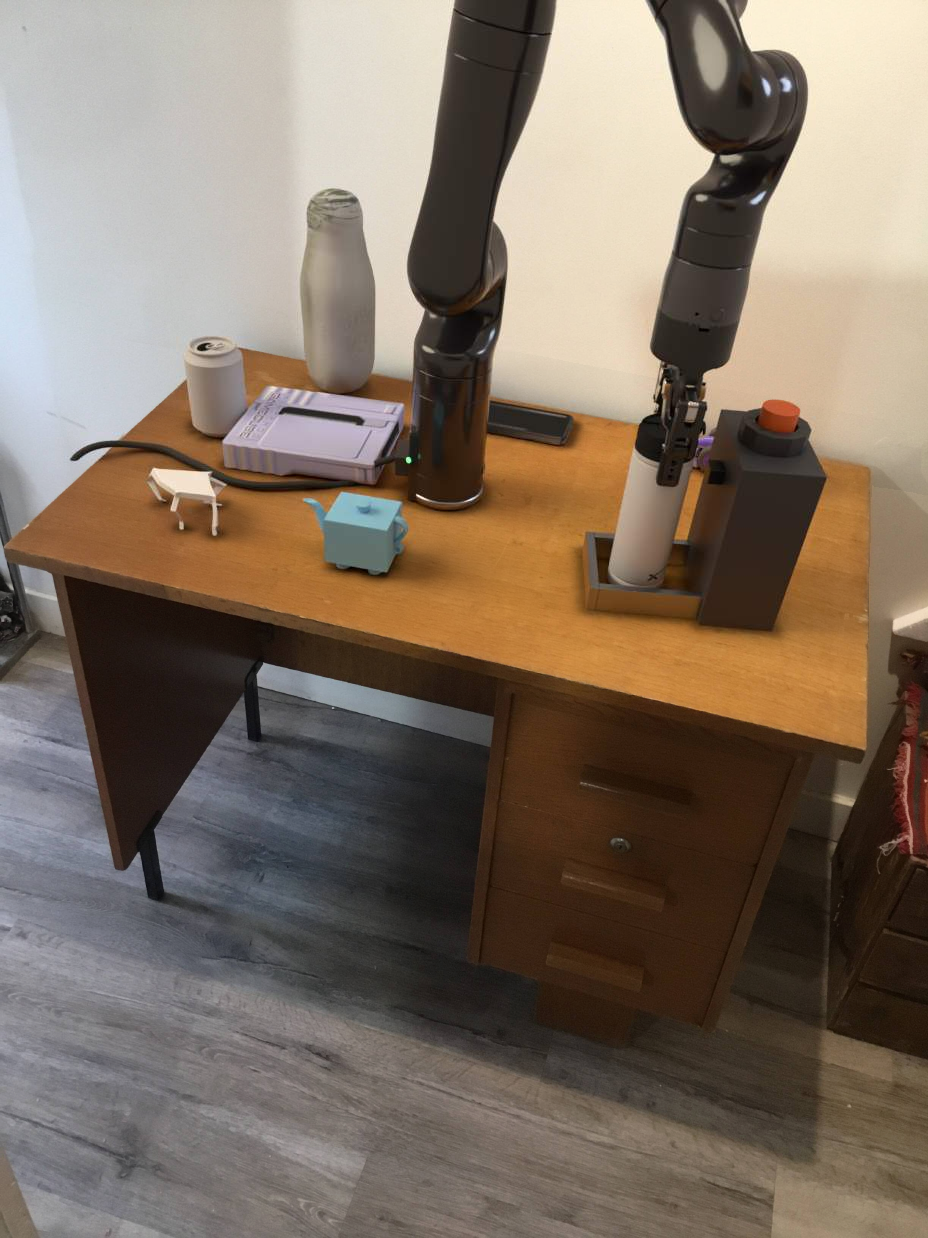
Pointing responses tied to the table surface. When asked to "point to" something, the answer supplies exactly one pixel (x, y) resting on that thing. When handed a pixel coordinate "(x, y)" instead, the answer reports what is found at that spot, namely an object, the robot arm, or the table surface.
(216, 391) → the can
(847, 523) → the table surface
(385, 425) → the gaming console
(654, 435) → the travel mug
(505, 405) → the phone
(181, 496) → the origami figure
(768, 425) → the button
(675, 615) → the frame
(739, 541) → the coffee maker
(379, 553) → the teapot
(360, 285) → the grey bottle
